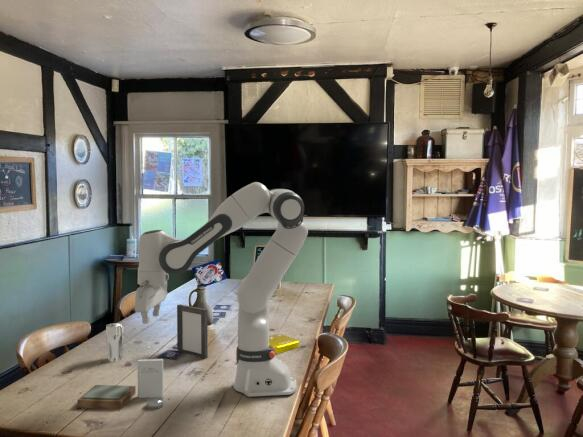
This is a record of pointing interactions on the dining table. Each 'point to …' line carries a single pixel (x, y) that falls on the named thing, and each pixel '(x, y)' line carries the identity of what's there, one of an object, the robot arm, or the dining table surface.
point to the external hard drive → (150, 378)
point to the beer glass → (115, 341)
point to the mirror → (106, 397)
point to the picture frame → (192, 331)
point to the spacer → (155, 403)
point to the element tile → (282, 343)
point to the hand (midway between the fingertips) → (151, 319)
